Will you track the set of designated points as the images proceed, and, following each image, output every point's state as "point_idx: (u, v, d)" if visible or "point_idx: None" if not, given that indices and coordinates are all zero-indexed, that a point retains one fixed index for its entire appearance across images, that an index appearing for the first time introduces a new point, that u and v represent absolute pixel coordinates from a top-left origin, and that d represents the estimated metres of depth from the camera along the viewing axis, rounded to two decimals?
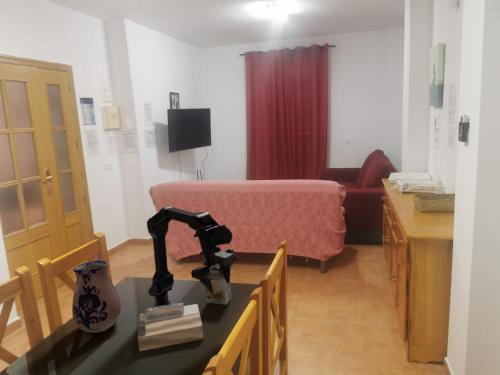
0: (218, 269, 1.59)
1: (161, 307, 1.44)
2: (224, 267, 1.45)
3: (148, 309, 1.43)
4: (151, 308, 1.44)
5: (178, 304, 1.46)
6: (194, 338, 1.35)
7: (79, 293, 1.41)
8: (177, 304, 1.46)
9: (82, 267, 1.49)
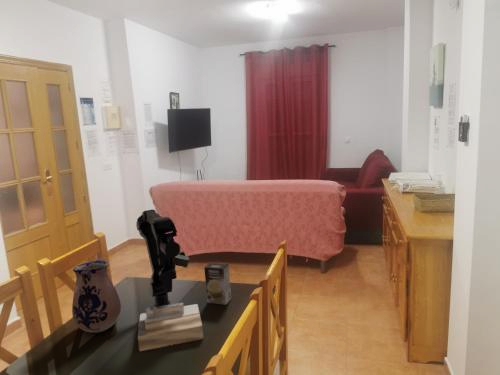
0: (218, 269, 1.59)
1: (161, 307, 1.44)
2: None
3: (148, 309, 1.43)
4: (151, 308, 1.44)
5: (178, 304, 1.46)
6: (194, 338, 1.35)
7: (79, 293, 1.41)
8: (177, 304, 1.46)
9: (82, 267, 1.50)
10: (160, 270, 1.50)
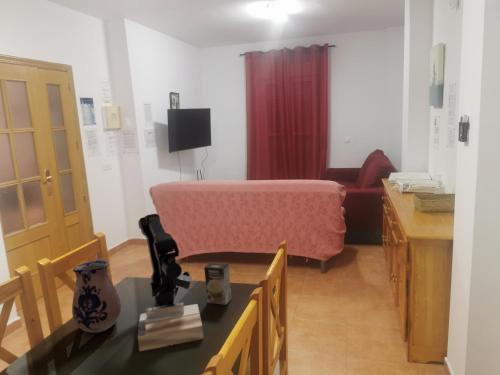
0: (218, 269, 1.59)
1: (161, 307, 1.44)
2: None
3: (148, 309, 1.43)
4: (151, 308, 1.44)
5: (178, 304, 1.46)
6: (194, 338, 1.35)
7: (79, 293, 1.41)
8: (177, 304, 1.46)
9: (82, 267, 1.50)
10: None
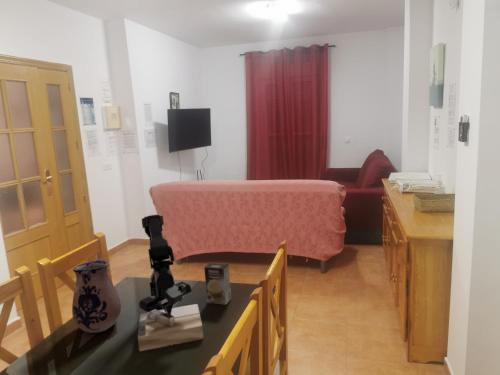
0: (218, 269, 1.59)
1: (157, 311, 1.41)
2: None
3: None
4: None
5: (168, 316, 1.37)
6: (194, 338, 1.35)
7: (79, 293, 1.41)
8: (167, 315, 1.37)
9: (82, 267, 1.49)
10: None
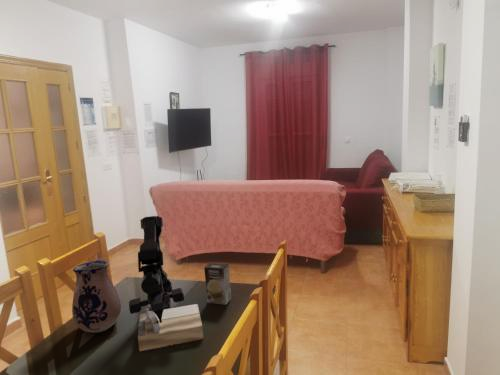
0: (218, 269, 1.59)
1: (151, 313, 1.40)
2: None
3: None
4: None
5: (154, 321, 1.34)
6: (194, 338, 1.35)
7: (79, 293, 1.41)
8: (154, 321, 1.34)
9: (82, 267, 1.50)
10: None
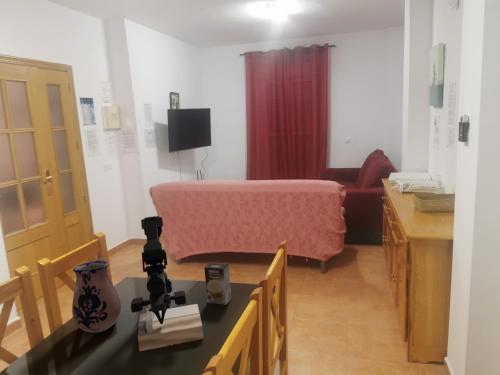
0: (218, 269, 1.59)
1: (149, 314, 1.39)
2: None
3: None
4: None
5: (148, 322, 1.33)
6: (194, 338, 1.35)
7: (79, 293, 1.41)
8: (149, 322, 1.34)
9: (82, 267, 1.49)
10: None
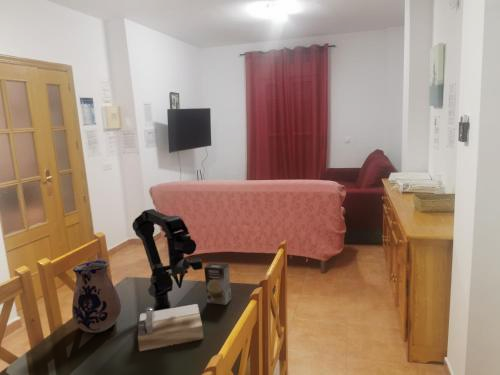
0: (218, 269, 1.59)
1: (149, 314, 1.39)
2: None
3: (149, 308, 1.44)
4: (150, 309, 1.43)
5: (148, 322, 1.33)
6: (194, 338, 1.35)
7: (79, 293, 1.41)
8: (149, 322, 1.34)
9: (82, 267, 1.49)
10: None
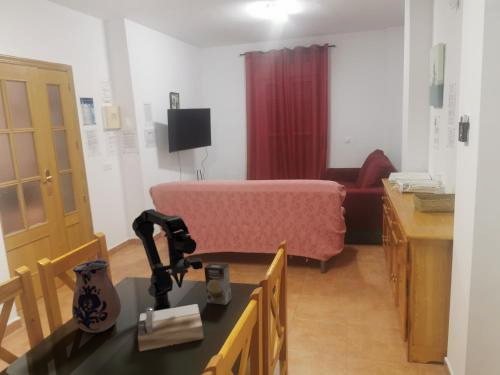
0: (218, 269, 1.59)
1: (149, 314, 1.39)
2: None
3: (149, 308, 1.44)
4: (150, 309, 1.43)
5: (148, 322, 1.33)
6: (194, 338, 1.35)
7: (79, 293, 1.41)
8: (149, 322, 1.34)
9: (82, 267, 1.49)
10: None
